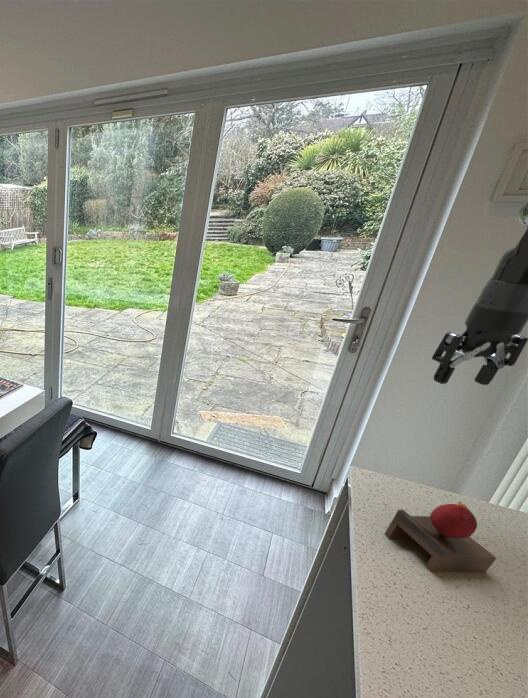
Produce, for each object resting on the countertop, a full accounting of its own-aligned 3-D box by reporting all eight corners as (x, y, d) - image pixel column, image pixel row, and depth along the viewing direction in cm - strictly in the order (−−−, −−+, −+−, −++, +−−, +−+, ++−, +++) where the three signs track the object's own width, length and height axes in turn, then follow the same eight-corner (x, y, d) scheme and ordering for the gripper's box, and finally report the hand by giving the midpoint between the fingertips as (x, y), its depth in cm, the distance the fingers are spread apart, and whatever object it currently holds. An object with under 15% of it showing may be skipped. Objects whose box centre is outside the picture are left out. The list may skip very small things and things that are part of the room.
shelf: (432, 534, 84) (448, 510, 81) (482, 577, 75) (502, 551, 72) (384, 533, 84) (398, 509, 81) (427, 575, 75) (445, 550, 72)
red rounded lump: (468, 539, 76) (491, 506, 73) (460, 553, 73) (483, 520, 70) (427, 519, 80) (447, 488, 77) (418, 532, 78) (438, 500, 74)
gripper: (486, 310, 73) (442, 390, 80) (565, 312, 73) (514, 392, 80) (447, 299, 80) (409, 374, 87) (519, 301, 80) (476, 375, 87)
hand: (460, 382), depth 84 cm, fingers open, 8 cm apart
